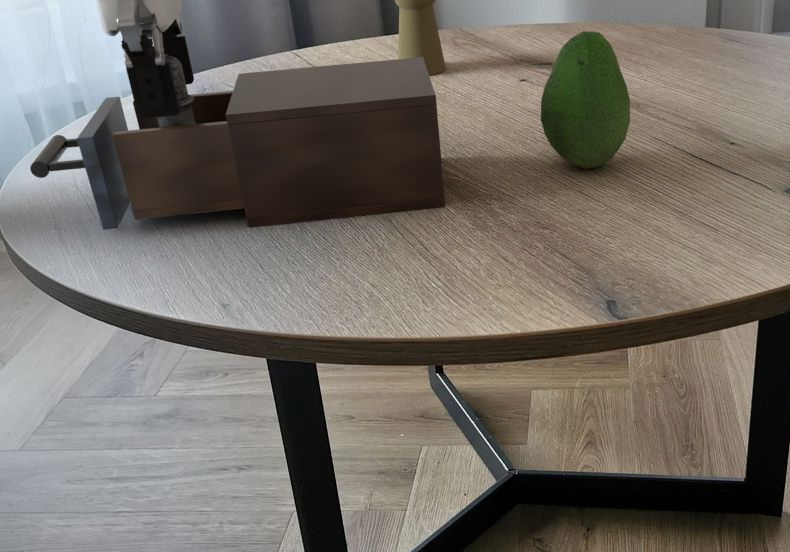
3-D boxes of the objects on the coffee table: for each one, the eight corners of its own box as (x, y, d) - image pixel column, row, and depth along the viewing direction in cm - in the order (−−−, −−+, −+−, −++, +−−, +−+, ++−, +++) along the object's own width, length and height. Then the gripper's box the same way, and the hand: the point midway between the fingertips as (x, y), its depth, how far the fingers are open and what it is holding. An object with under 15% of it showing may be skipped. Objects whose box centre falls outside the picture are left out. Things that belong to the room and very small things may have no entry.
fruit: (546, 183, 85) (542, 46, 79) (538, 154, 92) (533, 25, 86) (636, 177, 85) (639, 39, 79) (621, 147, 92) (623, 18, 86)
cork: (436, 77, 117) (428, -18, 112) (390, 75, 119) (380, -18, 113) (452, 64, 122) (445, -28, 116) (408, 63, 124) (399, -27, 118)
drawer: (41, 236, 78) (11, 144, 74) (73, 186, 88) (48, 102, 84) (292, 210, 80) (277, 119, 76) (296, 164, 90) (283, 81, 86)
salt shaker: (223, 168, 87) (194, 32, 81) (227, 190, 82) (197, 47, 76) (156, 178, 86) (121, 41, 79) (156, 201, 81) (120, 57, 75)
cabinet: (248, 227, 80) (225, 114, 75) (257, 175, 91) (238, 73, 86) (445, 206, 82) (435, 94, 77) (432, 157, 92) (422, 56, 88)
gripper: (88, -137, 78) (139, 76, 87) (31, -118, 63) (100, 136, 72) (182, -143, 79) (223, 69, 88) (148, -126, 64) (202, 127, 73)
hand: (168, 99), depth 80 cm, fingers open, 8 cm apart
